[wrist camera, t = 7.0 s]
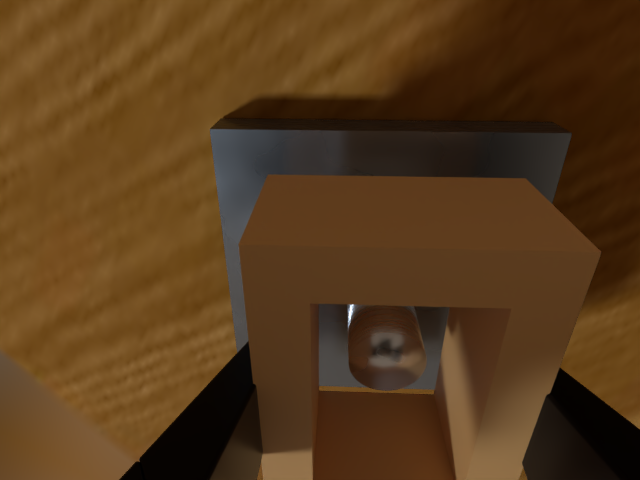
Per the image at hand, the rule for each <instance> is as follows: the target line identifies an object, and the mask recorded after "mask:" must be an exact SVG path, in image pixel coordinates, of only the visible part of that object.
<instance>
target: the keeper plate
mask: <svg viewBox="0 0 640 480" xmlns="http://www.w3.org/2000/svg"><path fill="white" fill-rule="evenodd" d="M210 134H211V142H212V150H213V158H214V167H215V175H216V183H217V191H218V199H219V207H220V215H221V224H222V232H223V240H224V248H225V256H226V264H227V272H228V281H229V289H230V297H231V305H232V313H233V321H234V329H235V338H236V346H237V353H238V351H239V350H240V349H241V348H242V347H243V346H244V345H245V344H246V343H247V342H248V341H249V340H248V330H247V321H246V312H245V302H244V293H243V283H242V274H241V264H240V255H239V245H238V244H239V242H240V240H241V237H242V235H243V233H244V230H245V228H246V225H247V223H248V221H249V218H250V216H251V213H252V211H253V209H254V206H255V204H256V202H257V199H258V197H259V194H260V192H261V190H262V187H263V185H264V182H265V180H266V178H267V175H336V176H404V177H473V178H526V179H527V180H528V181H529V182H530V183H531V184H532V185H533V186H534V187H535V188H536V189H537V190H538V191H539V192H540V193H541V194H542V195H543V196H544V197H545V198H546V199H547V200H548V201H549V202H551V203H553V199H554V196H555V192H556V188H557V185H558V181H559V178H560V174H561V171H562V167H563V164H564V160H565V157H566V153H567V150H568V146H569V143H570V139H571V136H572V133H571V132H569V131H567V130H566V129H564V128H562V127H560V126H559V125H557V124H555V123H553V122H504V121H407V120H310V119H220V120H219V121H218V122H217V123H216V124H215V125H214V126H213V127H212V128H211V129H210ZM449 308H450V307H427V306H388V305H349V304H319V386H344V387H369V388H372V389H377V390H396V389H401V388H405V389H435V386H436V380H437V374H438V369H439V363H440V358H441V352H442V347H443V341H444V336H445V330H446V325H447V319H448V314H449Z"/></svg>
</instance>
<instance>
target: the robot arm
mask: <svg viewBox="0 0 640 480" xmlns="http://www.w3.org/2000/svg"><path fill="white" fill-rule="evenodd" d="M262 455H263V447H262V437H261V427H260V417H259V407H258V397H257V388H256V385H255V384H253V378H252V368H251V359H250V349H249V341H248V342H247V343H246V344H245V345H244V346H243V347H242V348H241V349H240V350H239V351H238V353H237V354H236V355H235V356H234V357H233V358H232V359H231V360H230V361H229V362H228V363H227V364H226V366H225V367H224V368H223V369H222V370H221V371H220V372H219V373H218V374H217V375H216V376H215V377H214V378H213V380H212V381H211V382H210V383H209V384H208V385H207V386H206V387H205V388H204V389H203V390H202V391H201V392H200V394H199V395H198V396H197V397H196V398H195V399H194V400H193V401H192V402H191V403H190V404H189V405H188V406H187V408H186V409H185V410H184V411H183V412H182V413H181V414H180V415H179V416H178V417H177V418H176V419H175V420H174V422H173V423H172V424H171V425H170V426H169V427H168V428H167V429H166V430H165V431H164V432H163V433H162V434H161V436H160V437H159V438H158V439H157V440H156V441H155V442H154V443H153V444H152V445H151V446H150V447H149V448H148V450H147V451H146V452H145V453H144V454H143V455H142V456H141V457H140V459H139V460H140V462H139V461H137V462H135V463H134V464H133V465H132V467H131V468H130V469H129V470H128V471H127V472H126V473H125V474H124V475H123V476H122V477H121V478H120V479H119V480H257V476H258V472H259V468H260V464H261V459H262ZM522 465H523V468H524V471H525V473H526V476H527V479H528V480H640V429H639V428H637V427H636V426H635V425H633V424H632V423H631V422H630V421H628V420H627V419H626V418H624V417H623V416H622V415H620V414H619V413H618V412H617V411H615V410H614V409H613V408H611V407H610V406H609V405H608V404H606V403H605V402H604V401H602V400H601V399H600V398H599V397H597V396H596V395H595V394H593V393H592V392H591V391H589V390H588V389H587V388H586V387H584V386H583V385H582V384H580V383H579V382H578V381H577V380H575V379H574V378H573V377H571V376H570V375H569V374H567V373H566V372H565V371H564V370H562V369H561V368H559V370H558V373H557V376H556V379H555V381H554V384H553V387H552V389H551V392H550V394H547V395H546V397H545V400H544V403H543V405H542V408H541V411H540V414H539V416H538V419H537V422H536V425H535V428H534V430H533V433H532V436H531V439H530V441H529V444H528V447H527V450H526V452H525V455H524V458H523V461H522Z"/></svg>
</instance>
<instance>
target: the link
mask: <svg viewBox="0 0 640 480" xmlns="http://www.w3.org/2000/svg"><path fill="white" fill-rule="evenodd" d="M238 245H239V255H240V264H241V274H242V283H243V293H244V302H245V312H246V321H247V330H248V340H249V349H250V359H251V368H252V378H253V384H255V385H256V388H257V397H258V407H259V417H260V427H261V437H262V447H263V455H262V459H261V463H262V472H263V480H519V477H520V474H521V472H522V469H523V465H522V461H523V458H524V455H525V452H526V450H527V447H528V444H529V441H530V439H531V436H532V433H533V430H534V428H535V425H536V422H537V419H538V416H539V414H540V411H541V408H542V405H543V403H544V400H545V397H546V395H547V394H550V392H551V389H552V387H553V384H554V381H555V379H556V376H557V373H558V370H559V368H560V365H561V362H562V359H563V357H564V354H565V351H566V348H567V346H568V343H569V340H570V338H571V335H572V332H573V329H574V327H575V324H576V321H577V318H578V316H579V313H580V310H581V307H582V305H583V302H584V299H585V296H586V294H587V291H588V288H589V286H590V283H591V280H592V277H593V275H594V272H595V269H596V266H597V264H598V261H599V258H600V255H601V253H602V252H601V251H600V250H599V249H598V248H597V247H596V246H595V245H594V244H593V243H592V242H591V241H590V240H589V239H588V238H587V237H585V236H584V235H583V234H582V233H581V232H580V231H579V230H578V229H577V228H576V227H575V226H574V225H573V224H572V223H571V222H570V221H569V220H568V219H567V218H566V217H565V216H564V215H563V214H562V213H561V212H560V211H559V210H558V209H557V208H556V207H555V206H554V205H553V204H552V203H551V202H549V201H548V200H547V199H546V198H545V197H544V196H543V195H542V194H541V193H540V192H539V191H538V190H537V189H536V188H535V187H534V186H533V185H532V184H531V183H530V182H529V181H528V180H527V179H526V178H473V177H404V176H336V175H267V178H266V180H265V182H264V185H263V187H262V190H261V192H260V194H259V197H258V199H257V202H256V204H255V206H254V209H253V211H252V213H251V216H250V218H249V221H248V223H247V225H246V228H245V230H244V233H243V235H242V237H241V240H240V242H239V244H238ZM319 304H349V305H388V306H427V307H450V308H449V314H448V319H447V325H446V330H445V336H444V341H443V347H442V352H441V358H440V363H439V369H438V374H437V380H436V386H435V391H434V395H431V394H401V393H371V392H341V391H319Z"/></svg>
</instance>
